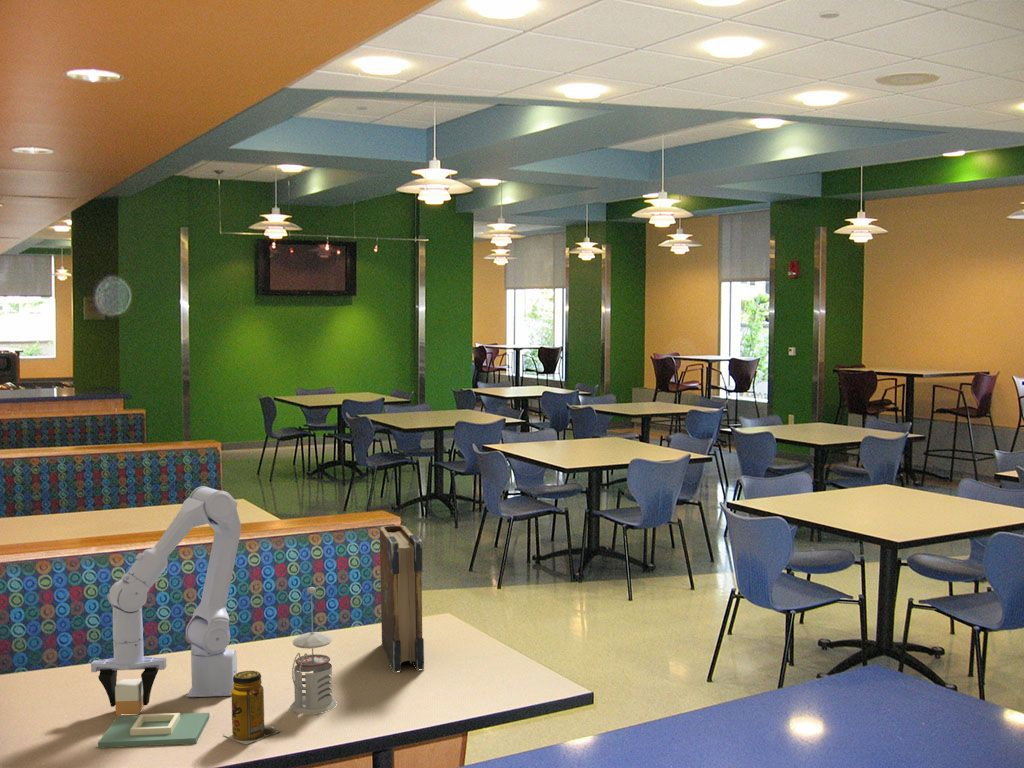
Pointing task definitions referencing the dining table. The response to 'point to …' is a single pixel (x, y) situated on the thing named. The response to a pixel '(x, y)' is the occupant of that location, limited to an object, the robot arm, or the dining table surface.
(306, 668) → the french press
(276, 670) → the dining table surface
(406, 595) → the decorative book
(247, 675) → the condiment
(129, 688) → the brick stack
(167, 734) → the base plate
